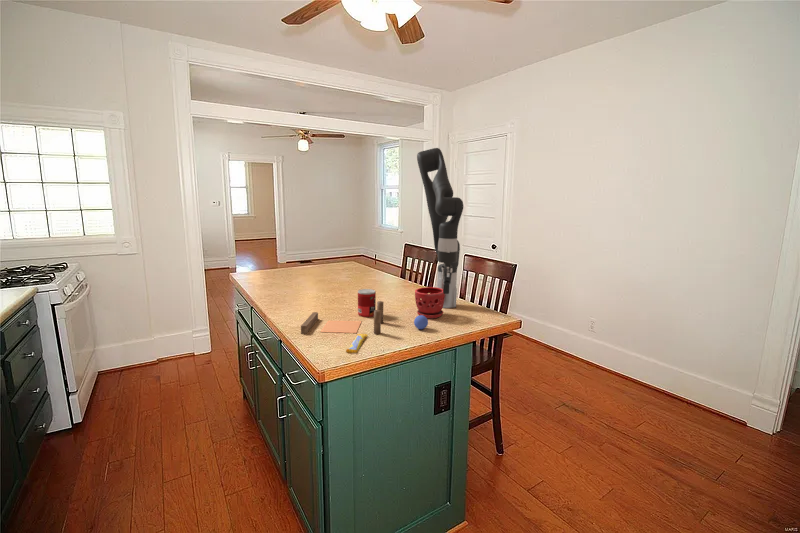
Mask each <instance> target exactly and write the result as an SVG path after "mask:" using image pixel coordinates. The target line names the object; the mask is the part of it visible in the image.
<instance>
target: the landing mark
mask: <svg viewBox="0 0 800 533" xmlns="http://www.w3.org/2000/svg"><path fill="white" fill-rule="evenodd" d="M361 323H362V321H361V320H327V322H326V323H325V324H324V326H323V327H322V329H321V331H320V333H331V334H332V333H336V334H338V333H339V334H340V333H341V334H343V333H344V334H358V331H359V328H360V327H361Z"/></svg>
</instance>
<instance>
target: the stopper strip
mask: <svg viewBox="0 0 800 533" xmlns="http://www.w3.org/2000/svg"><path fill="white" fill-rule="evenodd" d="M318 320H319V312H318V311H316V312H315V311H313V312H312V313H311V314H310V315H309V316H308V317H307V318H306V320H305V321H304V322H303V323H302V324H301V325H300V334H302V335H304V334H305V335H306V334H307V333H308V332H309V331H310V330H311V328H312V327H313V326H314V325H315V324H316V322H317V321H318Z"/></svg>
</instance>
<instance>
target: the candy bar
mask: <svg viewBox="0 0 800 533" xmlns="http://www.w3.org/2000/svg"><path fill="white" fill-rule="evenodd" d="M368 336H369V335H368V334H367V333H356V336H355V338H354V340H353V341H352V342H351V344H350V346H349V347H348V348H346V350H345V352H346V353H348V354H358V351H359V350H358V349H360V348H361V346H362V345H363V343H364V342H363V341H365V340H366V338H367V337H368Z"/></svg>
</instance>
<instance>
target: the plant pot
mask: <svg viewBox="0 0 800 533" xmlns="http://www.w3.org/2000/svg"><path fill="white" fill-rule="evenodd" d="M444 298H445V294H444V293H443V289H441V288H437V286H436V287H435V286H425V287H424V286H423V287H419V288H416V289H415V290H414V300H415V305H416V308H417V311H416V313H417V316H419V315H423V316H425V317H426V318H427V319H430V320H431V319H438V318H440V317H441V316H443V313H444V311H443V309H444V308H443V305H444Z"/></svg>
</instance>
